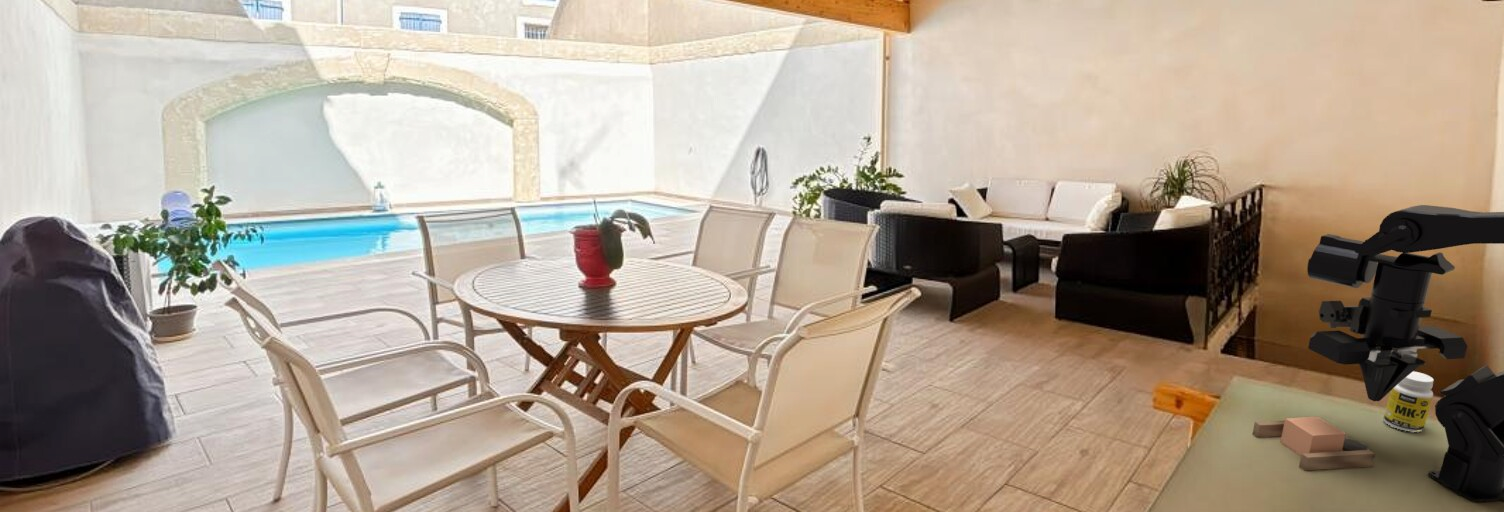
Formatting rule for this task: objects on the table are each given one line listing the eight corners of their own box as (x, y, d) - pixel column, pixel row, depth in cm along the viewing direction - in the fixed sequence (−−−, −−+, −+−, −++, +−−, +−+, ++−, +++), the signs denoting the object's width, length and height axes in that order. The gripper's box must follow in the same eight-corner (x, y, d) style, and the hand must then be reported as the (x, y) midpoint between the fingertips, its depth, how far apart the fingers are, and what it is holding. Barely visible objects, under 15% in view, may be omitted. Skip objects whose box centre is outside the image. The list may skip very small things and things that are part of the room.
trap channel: (1334, 429, 114) (1337, 417, 114) (1394, 465, 105) (1397, 452, 104) (1252, 433, 113) (1254, 422, 113) (1304, 470, 104) (1307, 457, 103)
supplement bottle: (1387, 429, 114) (1399, 378, 112) (1379, 415, 118) (1391, 366, 116) (1427, 436, 112) (1441, 385, 110) (1418, 422, 116) (1431, 372, 114)
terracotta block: (1311, 440, 111) (1316, 416, 110) (1340, 458, 107) (1345, 433, 105) (1280, 442, 111) (1285, 418, 110) (1307, 460, 106) (1312, 435, 105)
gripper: (1406, 276, 111) (1384, 373, 116) (1288, 281, 110) (1270, 379, 114) (1483, 301, 101) (1455, 406, 105) (1353, 307, 99) (1330, 413, 103)
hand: (1373, 400), depth 107 cm, fingers closed
